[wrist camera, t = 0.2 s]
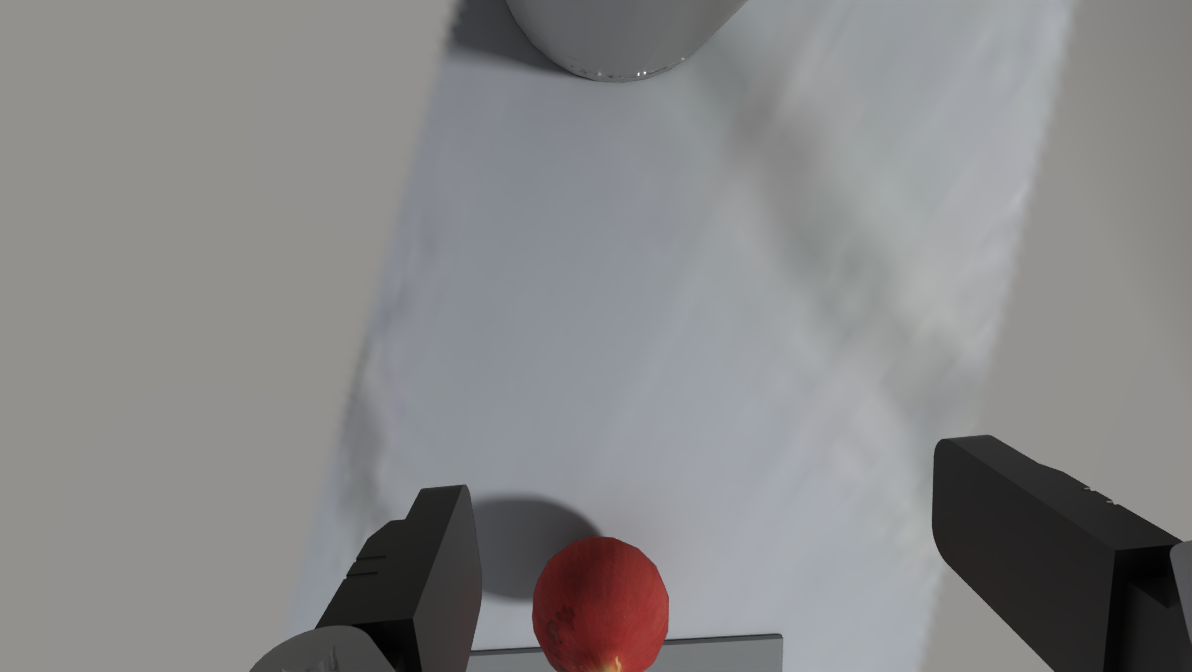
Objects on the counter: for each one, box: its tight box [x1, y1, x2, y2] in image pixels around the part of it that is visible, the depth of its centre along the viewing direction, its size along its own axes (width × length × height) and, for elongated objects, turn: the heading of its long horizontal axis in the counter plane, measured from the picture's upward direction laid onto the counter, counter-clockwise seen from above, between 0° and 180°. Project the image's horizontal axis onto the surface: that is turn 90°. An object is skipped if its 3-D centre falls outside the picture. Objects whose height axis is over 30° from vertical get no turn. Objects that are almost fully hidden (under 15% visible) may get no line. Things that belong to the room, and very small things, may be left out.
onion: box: [532, 536, 669, 672], centre depth 27 cm, size 6×6×8 cm
